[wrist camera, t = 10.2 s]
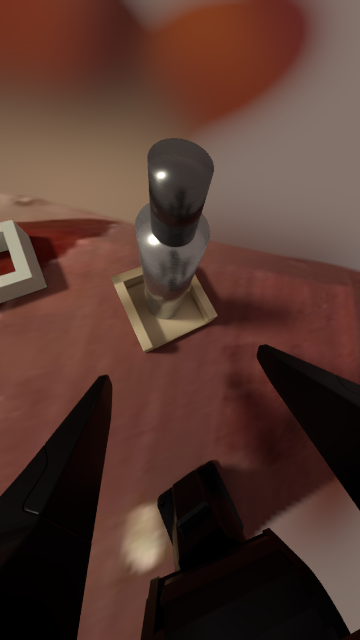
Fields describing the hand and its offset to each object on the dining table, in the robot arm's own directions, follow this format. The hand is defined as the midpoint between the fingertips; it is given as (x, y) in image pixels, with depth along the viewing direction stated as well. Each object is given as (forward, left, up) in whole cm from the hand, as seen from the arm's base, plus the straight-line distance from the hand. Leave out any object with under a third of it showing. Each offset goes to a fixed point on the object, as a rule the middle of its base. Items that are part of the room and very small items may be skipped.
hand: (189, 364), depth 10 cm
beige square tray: (+7, -2, -10) cm, 13 cm away
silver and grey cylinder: (+7, -2, -9) cm, 12 cm away
